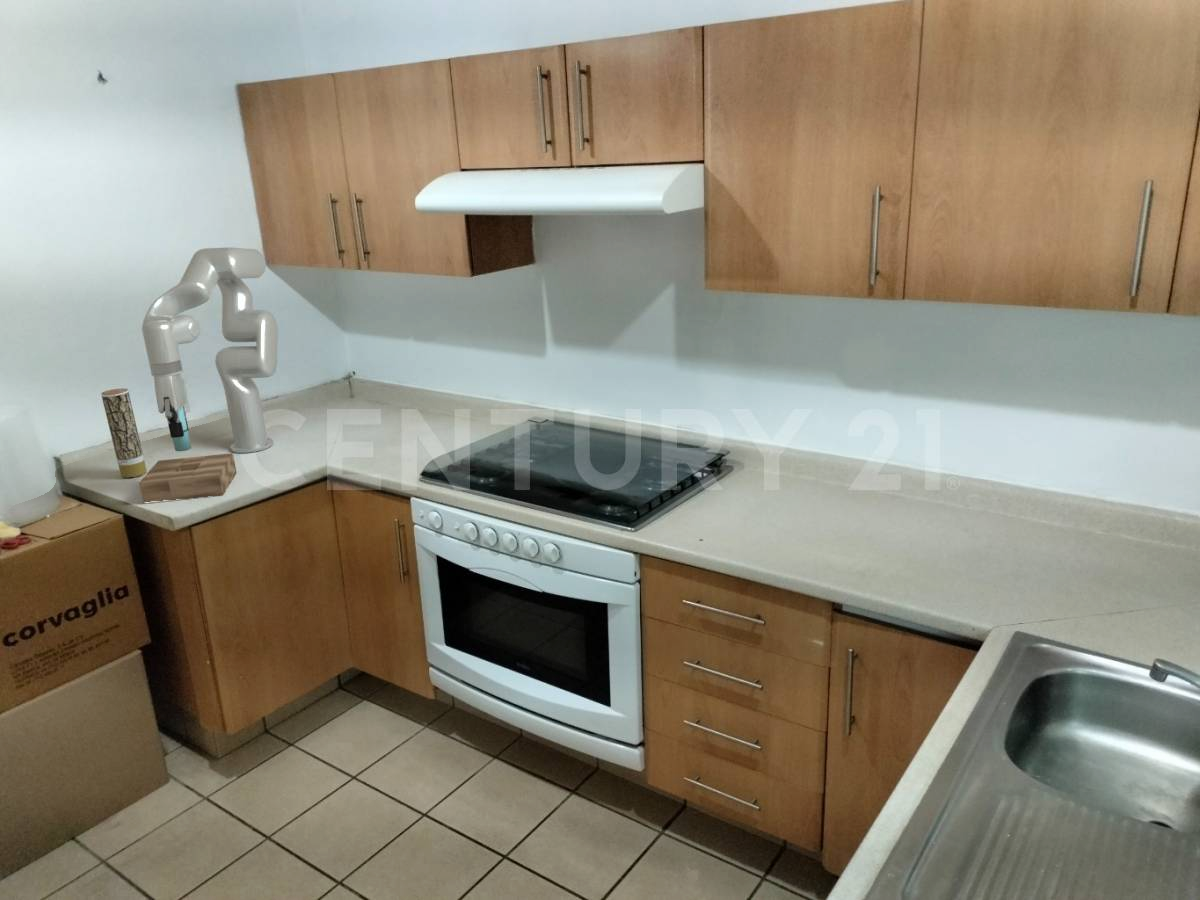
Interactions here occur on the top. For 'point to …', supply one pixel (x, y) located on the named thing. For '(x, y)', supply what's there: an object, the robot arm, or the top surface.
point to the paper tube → (124, 432)
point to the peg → (184, 441)
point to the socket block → (188, 478)
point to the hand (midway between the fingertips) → (180, 433)
